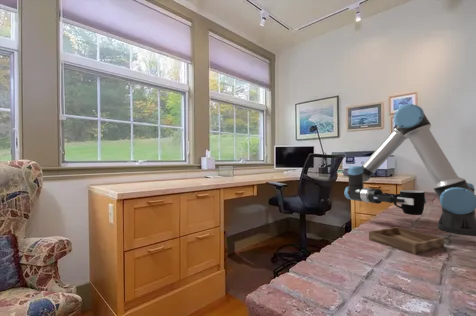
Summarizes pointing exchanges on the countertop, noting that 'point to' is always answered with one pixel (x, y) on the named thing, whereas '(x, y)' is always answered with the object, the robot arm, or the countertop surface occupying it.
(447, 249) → the countertop surface
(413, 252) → the walnut tray
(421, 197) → the mug
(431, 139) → the robot arm
